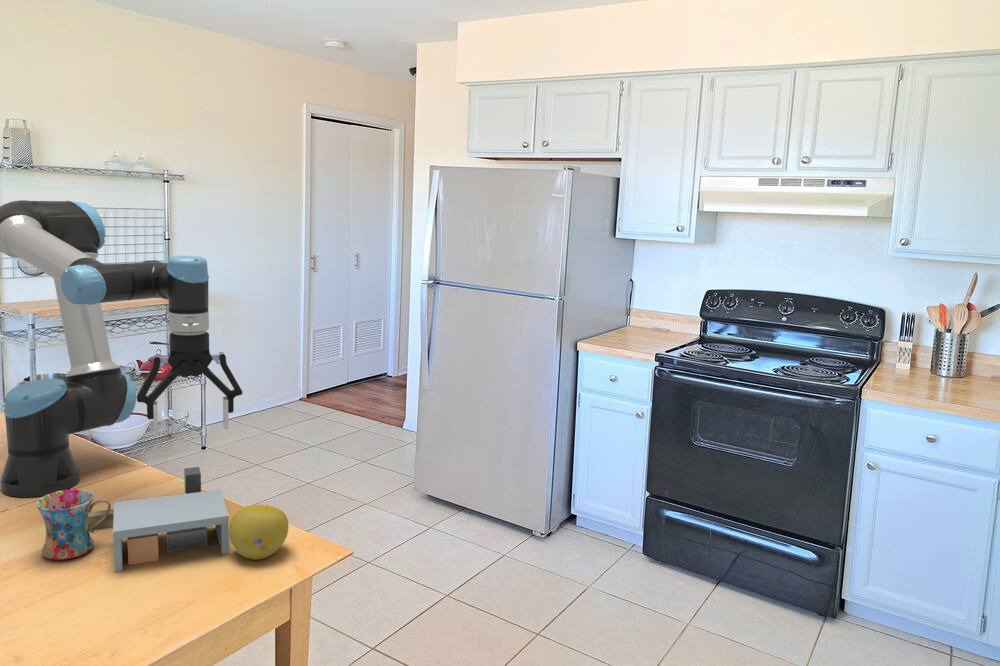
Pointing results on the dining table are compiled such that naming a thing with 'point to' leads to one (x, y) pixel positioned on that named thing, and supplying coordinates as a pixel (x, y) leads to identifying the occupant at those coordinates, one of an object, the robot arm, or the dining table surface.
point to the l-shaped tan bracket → (97, 515)
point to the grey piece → (194, 535)
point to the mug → (68, 522)
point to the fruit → (258, 530)
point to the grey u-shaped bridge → (169, 518)
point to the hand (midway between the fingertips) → (191, 430)
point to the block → (142, 548)
